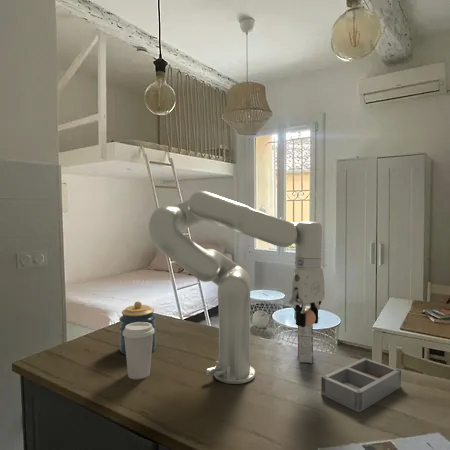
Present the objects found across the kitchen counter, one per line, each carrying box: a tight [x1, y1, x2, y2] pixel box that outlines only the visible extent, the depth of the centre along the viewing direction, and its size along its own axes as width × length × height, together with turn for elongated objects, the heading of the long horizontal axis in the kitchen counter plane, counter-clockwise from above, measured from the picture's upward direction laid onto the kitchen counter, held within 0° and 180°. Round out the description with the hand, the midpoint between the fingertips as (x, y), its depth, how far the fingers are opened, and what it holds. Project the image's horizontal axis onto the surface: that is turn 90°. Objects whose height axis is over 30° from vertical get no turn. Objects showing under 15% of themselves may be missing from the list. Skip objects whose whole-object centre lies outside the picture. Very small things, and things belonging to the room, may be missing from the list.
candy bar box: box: [297, 305, 314, 364], centre depth 120 cm, size 11×5×16 cm, turn 168°
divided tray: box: [320, 357, 402, 413], centre depth 97 cm, size 21×11×5 cm, turn 127°
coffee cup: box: [122, 322, 155, 380], centre depth 107 cm, size 10×10×15 cm
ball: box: [304, 309, 316, 326], centre depth 104 cm, size 5×5×5 cm
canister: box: [118, 300, 157, 356], centre depth 126 cm, size 13×13×18 cm
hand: (306, 323), depth 104 cm, fingers closed on ball, 4 cm apart
